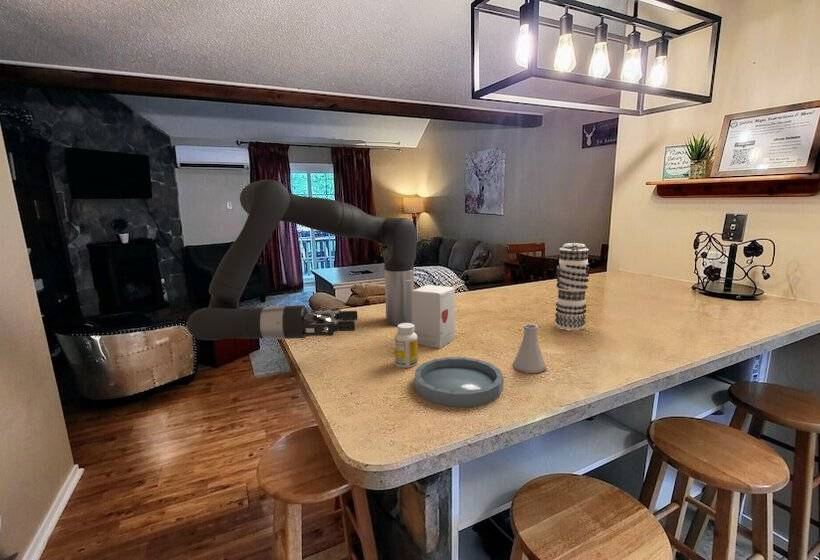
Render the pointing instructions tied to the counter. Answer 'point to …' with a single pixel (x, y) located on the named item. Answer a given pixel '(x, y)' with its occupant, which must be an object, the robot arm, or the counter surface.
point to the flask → (529, 352)
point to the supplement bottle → (406, 346)
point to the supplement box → (433, 315)
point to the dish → (458, 381)
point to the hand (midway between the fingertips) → (356, 320)
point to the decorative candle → (572, 286)
